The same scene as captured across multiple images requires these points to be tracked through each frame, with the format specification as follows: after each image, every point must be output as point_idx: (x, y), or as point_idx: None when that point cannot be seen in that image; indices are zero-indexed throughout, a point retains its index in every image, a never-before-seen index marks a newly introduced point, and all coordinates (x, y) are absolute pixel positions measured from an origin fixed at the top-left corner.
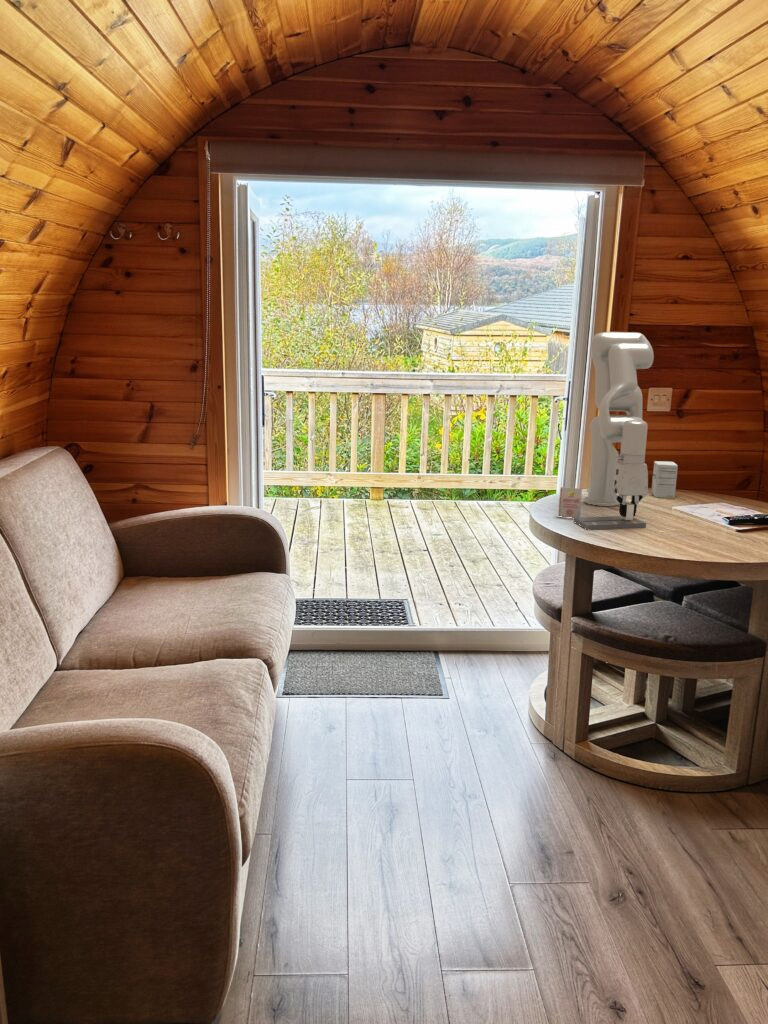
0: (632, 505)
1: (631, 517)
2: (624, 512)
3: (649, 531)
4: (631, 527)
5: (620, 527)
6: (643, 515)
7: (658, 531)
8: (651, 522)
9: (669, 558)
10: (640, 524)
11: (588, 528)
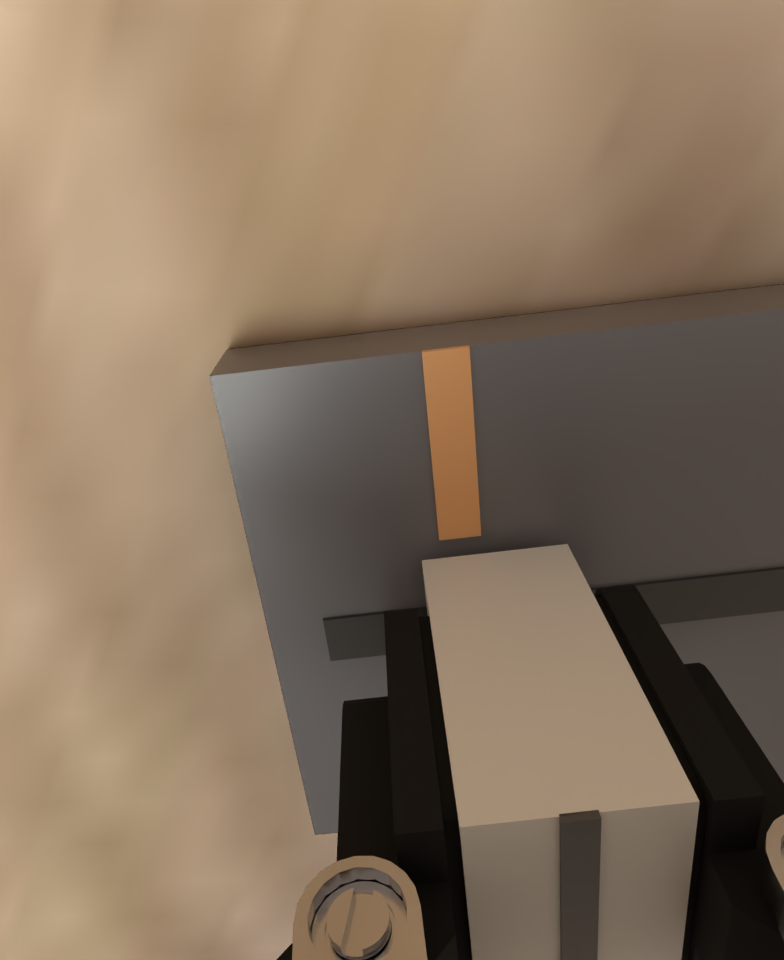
0: (510, 801)
1: (461, 584)
2: (664, 647)
3: (248, 26)
4: (527, 318)
5: (765, 291)
6: (59, 950)
7: (38, 14)
8: (29, 664)
9: None
10: (341, 354)
11: None
